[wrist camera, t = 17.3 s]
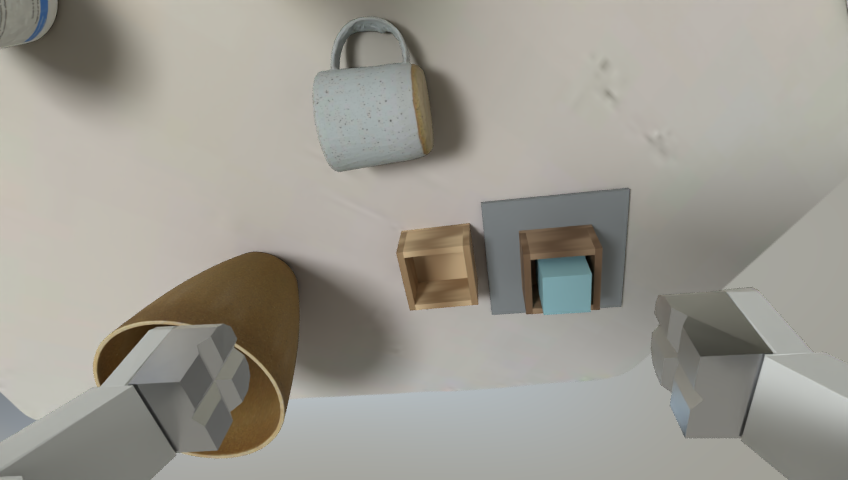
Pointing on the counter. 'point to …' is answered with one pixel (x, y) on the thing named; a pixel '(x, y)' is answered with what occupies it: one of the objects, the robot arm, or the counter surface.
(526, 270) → the brown wooden square tray
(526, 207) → the slate mat
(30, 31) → the supplement tub
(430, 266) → the light wooden open box
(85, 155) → the counter surface
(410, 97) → the ceramic mug
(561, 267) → the light blue block
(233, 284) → the plant pot
